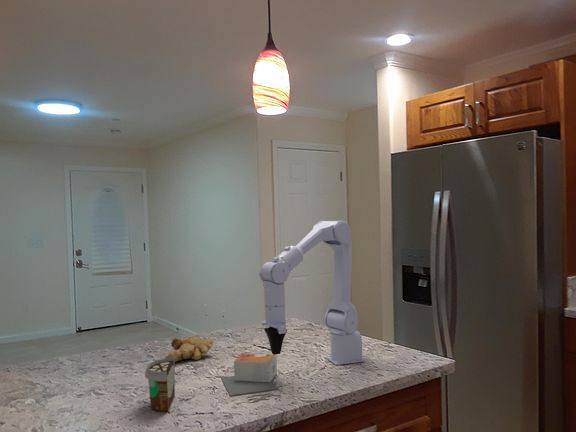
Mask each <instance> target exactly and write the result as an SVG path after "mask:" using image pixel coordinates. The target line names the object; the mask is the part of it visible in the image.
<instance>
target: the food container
mask: <svg viewBox="0 0 576 432" xmlns="http://www.w3.org/2000/svg"><path fill="white" fill-rule="evenodd" d="M175 365H176V364H175V360H174V358H166V357H165V358H161V359H158V360H155V361H151V362H150V363H149V364H148V365H147V367H146V368H145V373H144V377H145V378H146V379H147V382H148V390H149V400H150V409H151V410H152V411H154V412H156V413H167V412H168V413H170V411H171V408H172V405H173V403H174V401H175V399H176V395H175V393H176V390H175V389H176V387H175V385H176V384H175V383H176V382H175V377H176V375H175Z"/></svg>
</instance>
